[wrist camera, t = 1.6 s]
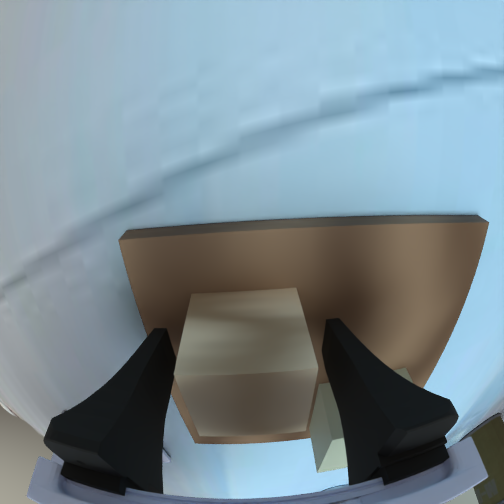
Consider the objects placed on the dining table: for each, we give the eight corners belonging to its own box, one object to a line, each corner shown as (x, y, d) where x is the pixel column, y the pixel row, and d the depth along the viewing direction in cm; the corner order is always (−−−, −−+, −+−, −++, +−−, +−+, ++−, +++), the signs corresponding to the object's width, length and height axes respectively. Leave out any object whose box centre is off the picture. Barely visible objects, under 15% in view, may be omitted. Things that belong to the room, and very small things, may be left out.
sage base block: (309, 428, 18) (317, 472, 15) (319, 384, 16) (332, 440, 12) (381, 413, 18) (395, 454, 15) (405, 367, 16) (428, 414, 12)
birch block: (206, 362, 14) (199, 436, 10) (191, 293, 12) (173, 374, 8) (292, 357, 14) (305, 430, 10) (296, 287, 12) (318, 367, 8)
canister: (474, 425, 28) (510, 513, 10) (509, 405, 28) (545, 481, 11) (445, 453, 33) (471, 530, 15) (480, 435, 33) (508, 504, 16)
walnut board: (196, 433, 20) (195, 443, 19) (126, 230, 12) (118, 240, 11) (401, 408, 20) (404, 417, 19) (477, 215, 12) (488, 222, 11)
